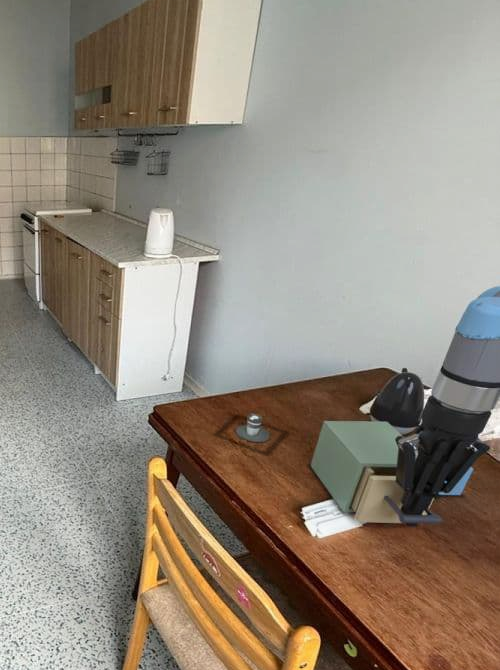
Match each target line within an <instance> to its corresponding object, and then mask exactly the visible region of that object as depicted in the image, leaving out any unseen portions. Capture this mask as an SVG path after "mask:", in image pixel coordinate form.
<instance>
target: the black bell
mask: <svg viewBox="0 0 500 670" xmlns="http://www.w3.org/2000/svg"><path fill="white" fill-rule="evenodd" d="M424 407H425V388H424V384H423V381H422V378H421V377H420V376H419V375H418V374H415V373H414V372H410V371H408V368H407V367H403V368H401V372H399V373H397V374H395V375H394V376H393V377H391V378H390V379H389V380H388V381H387V383H386V384H385V385H384V386H383V387H382V388H381V390H380V391H379V392H378V393H377V395H376V397H375V399H374V400H373V401H372V404H371V406H370V408H369V415H370V421H372V422H388V423H389V424H390V425H391V426H392V427H393V428H394V429H396V430H397V431H398V432H399V433H400V434H401V435H402V436H403V435H406V434H409V433H411V432H413V431H415V430H416V429H417V427H419V426H420V425H421V423H422V412H423V410H424Z"/></svg>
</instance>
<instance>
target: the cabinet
mask: <svg viewBox="0 0 500 670" xmlns="http://www.w3.org/2000/svg"><path fill="white" fill-rule="evenodd" d="M398 436H403V435H401V434H400V433H399V432H398V431H397V430H396V429H394V428H393V427H392V426H391V425H390V424H389V423H388V422H372V421H371V420H370V421H365V420H363V421H361V420H357V421H356V420H323V423H322V426H321V430H320V433H319V436H318V439H317V443H316V446H315V450H314V453H313V456H312V458H311V459H312V460H311V463H310V467H311V469H312V470H313V471H314V473H315V474H316V475H317V477H318V478H319V480H320V481H321V483H322V484H323V486H324V488H326V490H327V491H328V493H329V494H330V495H331V497H332V498H333V500H334V502H336V504H337V505H338V507H339V508H340V509H341V511H342V512H343V513H356V512H357V511H354V509H353V508H352V507H351V505H350V504H351V501H352V498H353V495H354V493H355V490H356V487H357V484H358V482H359V479H360V476H361V473H362V471H363V468H364V467H397V459H398V446H397V443H396V441H395V439H396V437H398ZM415 454H416V458H417V455H418V451H415ZM416 458H415V460H416Z"/></svg>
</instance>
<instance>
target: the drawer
mask: <svg viewBox="0 0 500 670" xmlns="http://www.w3.org/2000/svg"><path fill="white" fill-rule="evenodd" d="M396 469H397V467H364V468H363V471H362V473H361V476H360V479H359V482H358V484H357V487H356V490H355V493H354V495H353V498H352V501H351V504H350V505H351V507H352V508H353V509H354V511H357V512H355V514H354V517H353V518H354V519H355V521H356V522H357V523H377V524H379V523H380V524H381V523H382V524H405V523H418V524H422V525H423V524H424V525H426V524H427V525H441V524H442V523H443V518H442V516H441V515H439V514H435V513H434V512H433V511H432V510H431V509H430V508H431V506H432V504H433V501H434V500H435V499H434V498H433V500H432V502H431V504H430V506H429V507H428V508H427V509H424V511H423V513H422V515H404V513H403V512H402V511H401V510H400V509H401V507H402V504H401V499H402V496H403V494H404V492H405V491H404V490H403V489H402V488H401V487H400V486H399V485H398V484H397V483H396V481H395V480H396ZM398 515H399V516H398ZM418 524H417V525H418Z"/></svg>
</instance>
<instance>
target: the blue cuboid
mask: <svg viewBox="0 0 500 670" xmlns="http://www.w3.org/2000/svg"><path fill="white" fill-rule="evenodd" d="M473 470H474V468H473V467H472V466H471V467H470V469H469V470H468V471H467V472H466V473H465V475H464V476H463V477H462V478H461V480H460V481H459V482H458V483H457V484H456V486H455V487H454V488H453V489H452V491H451V492H449V493H444V492H439V494H440V495H441V496H461V495H462V493H463V491H464V489H465V487H466V485H467V484H468V481H469V479H470V476H471V475H472V473H473ZM445 483H447V482H446V481H445Z"/></svg>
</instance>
